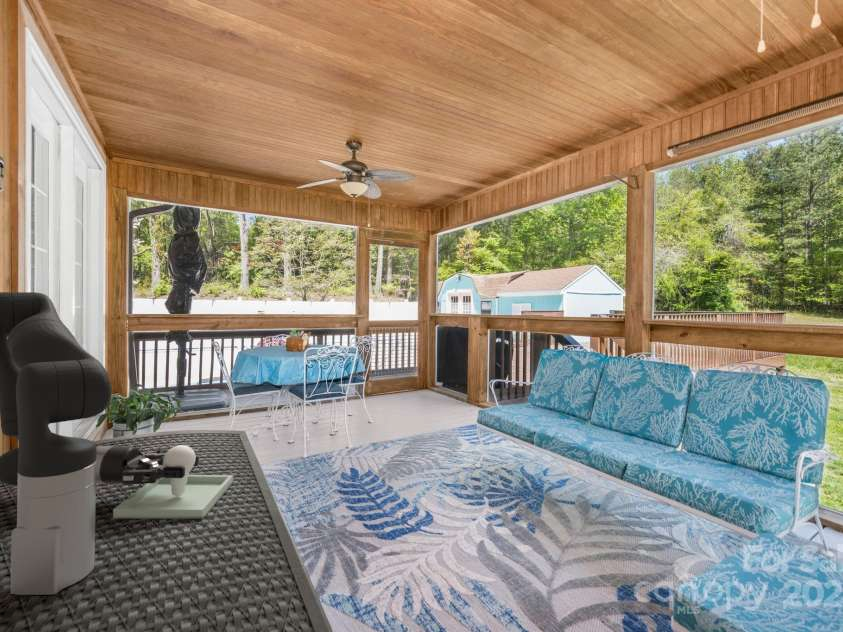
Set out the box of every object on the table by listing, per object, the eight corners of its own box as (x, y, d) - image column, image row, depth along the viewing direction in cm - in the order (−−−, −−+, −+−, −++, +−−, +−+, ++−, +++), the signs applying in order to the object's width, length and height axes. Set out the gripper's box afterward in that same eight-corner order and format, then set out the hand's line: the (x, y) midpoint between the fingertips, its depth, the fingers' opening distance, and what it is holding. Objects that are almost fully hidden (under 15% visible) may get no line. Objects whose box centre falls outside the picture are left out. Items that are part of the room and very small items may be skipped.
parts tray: (202, 518, 85) (202, 509, 85) (113, 518, 84) (113, 509, 84) (232, 482, 102) (233, 475, 102) (158, 482, 101) (159, 474, 101)
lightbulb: (200, 491, 96) (202, 442, 95) (182, 504, 90) (184, 452, 89) (174, 488, 96) (176, 440, 96) (154, 501, 90) (156, 449, 90)
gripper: (86, 459, 84) (175, 461, 86) (130, 436, 99) (206, 438, 100) (85, 497, 84) (174, 498, 86) (129, 468, 99) (205, 470, 100)
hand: (191, 466), depth 93 cm, fingers closed on lightbulb, 6 cm apart
